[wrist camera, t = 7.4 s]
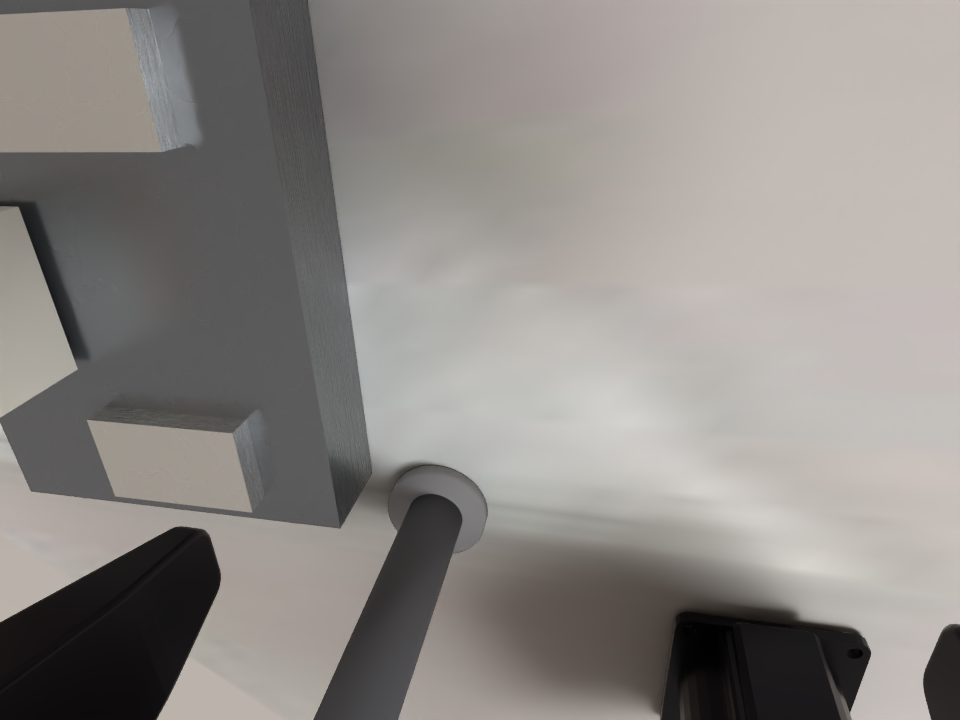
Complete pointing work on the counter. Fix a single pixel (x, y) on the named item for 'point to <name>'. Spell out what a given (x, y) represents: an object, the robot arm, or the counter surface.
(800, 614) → the counter surface
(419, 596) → the post
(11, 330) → the slider
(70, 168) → the panel
